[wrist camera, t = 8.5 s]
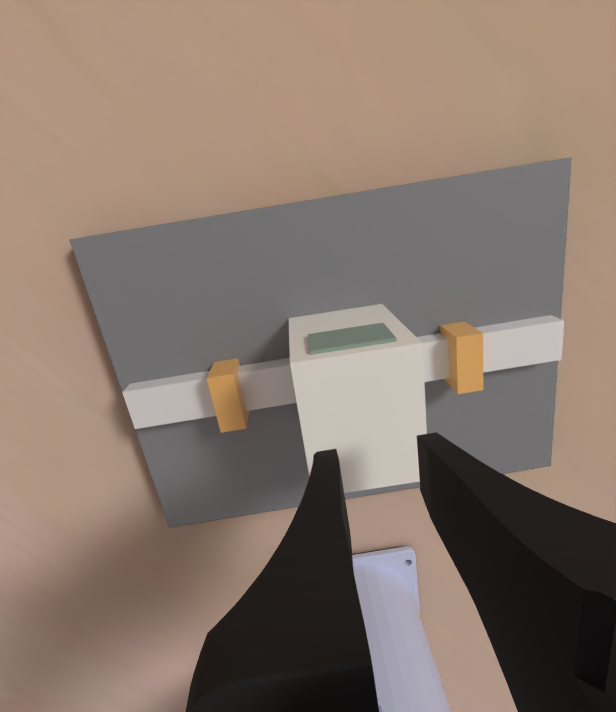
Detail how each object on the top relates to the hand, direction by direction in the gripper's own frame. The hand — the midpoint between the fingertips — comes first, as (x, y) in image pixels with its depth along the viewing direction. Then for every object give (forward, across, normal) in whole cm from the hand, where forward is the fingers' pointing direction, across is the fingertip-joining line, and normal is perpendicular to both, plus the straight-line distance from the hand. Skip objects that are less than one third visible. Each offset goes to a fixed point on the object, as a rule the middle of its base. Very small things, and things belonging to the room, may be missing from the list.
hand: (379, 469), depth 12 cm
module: (+8, 0, 0) cm, 8 cm away
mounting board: (+9, 0, 0) cm, 9 cm away
